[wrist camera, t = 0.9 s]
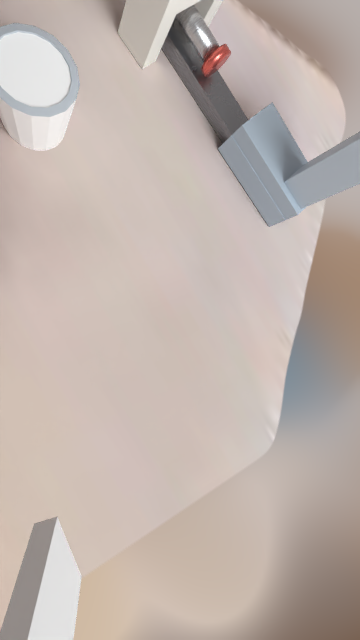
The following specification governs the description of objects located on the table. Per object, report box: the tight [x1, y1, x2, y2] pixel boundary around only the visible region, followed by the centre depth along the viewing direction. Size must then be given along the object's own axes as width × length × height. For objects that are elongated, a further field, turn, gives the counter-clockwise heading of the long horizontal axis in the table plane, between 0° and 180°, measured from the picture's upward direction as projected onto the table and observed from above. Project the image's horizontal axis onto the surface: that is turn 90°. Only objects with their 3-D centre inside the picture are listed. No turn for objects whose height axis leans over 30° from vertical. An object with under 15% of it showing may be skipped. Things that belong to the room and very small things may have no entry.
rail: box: [161, 17, 248, 143], centre depth 38 cm, size 24×3×2 cm, turn 41°
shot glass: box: [0, 23, 80, 151], centre depth 29 cm, size 7×7×7 cm
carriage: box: [218, 103, 360, 227], centre depth 33 cm, size 11×5×18 cm, turn 41°
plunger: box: [175, 5, 231, 77], centre depth 34 cm, size 9×3×3 cm, turn 41°
